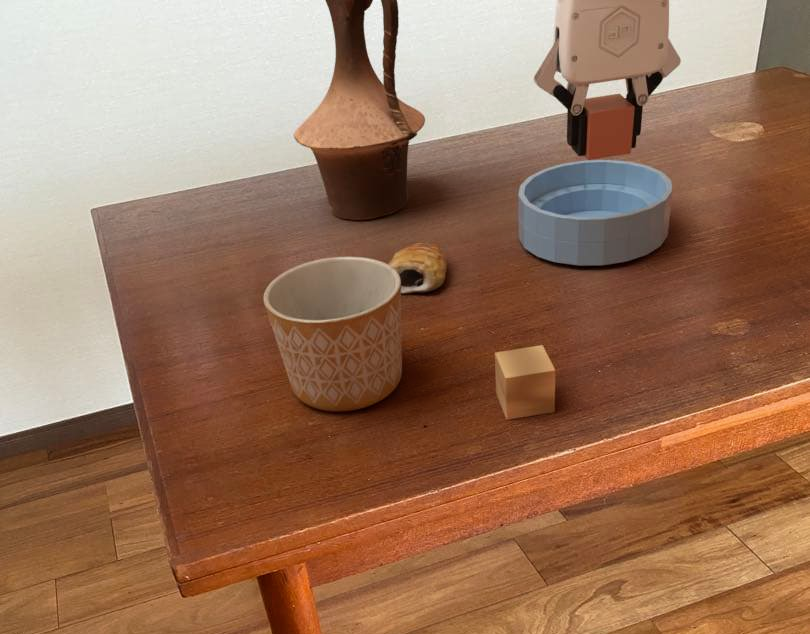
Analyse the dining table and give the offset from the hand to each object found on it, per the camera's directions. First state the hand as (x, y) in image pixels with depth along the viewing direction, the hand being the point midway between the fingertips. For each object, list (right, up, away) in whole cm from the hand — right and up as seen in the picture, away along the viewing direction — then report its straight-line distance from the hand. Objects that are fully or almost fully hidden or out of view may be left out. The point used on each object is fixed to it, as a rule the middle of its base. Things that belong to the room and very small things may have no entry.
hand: (602, 145), depth 91 cm
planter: (-26, -25, -3) cm, 36 cm away
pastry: (-19, -10, +12) cm, 25 cm away
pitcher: (-25, +5, +30) cm, 39 cm away
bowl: (+2, -4, +16) cm, 17 cm away
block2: (0, 0, 0) cm, 0 cm away
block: (-9, -28, -8) cm, 30 cm away
